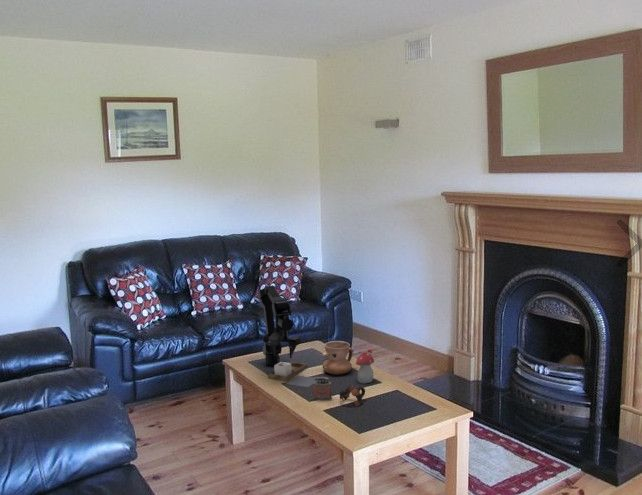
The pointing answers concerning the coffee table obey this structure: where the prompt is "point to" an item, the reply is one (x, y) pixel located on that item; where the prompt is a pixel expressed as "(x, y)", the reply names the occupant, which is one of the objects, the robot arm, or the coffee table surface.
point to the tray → (296, 370)
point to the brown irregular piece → (354, 392)
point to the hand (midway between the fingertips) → (282, 356)
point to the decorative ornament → (365, 367)
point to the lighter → (322, 389)
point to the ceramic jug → (337, 357)
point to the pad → (302, 381)
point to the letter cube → (283, 369)
